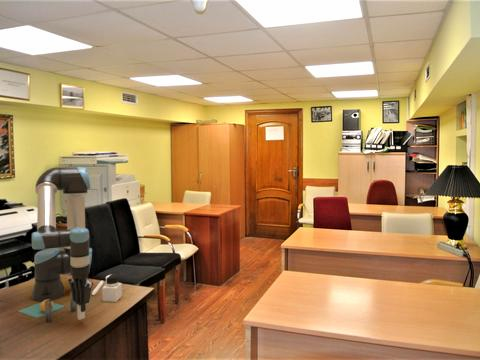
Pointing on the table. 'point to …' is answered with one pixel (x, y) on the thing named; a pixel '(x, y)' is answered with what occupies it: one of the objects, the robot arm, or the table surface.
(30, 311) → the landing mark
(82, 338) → the table surface
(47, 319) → the post
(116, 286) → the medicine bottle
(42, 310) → the ball
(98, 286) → the marker
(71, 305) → the post
